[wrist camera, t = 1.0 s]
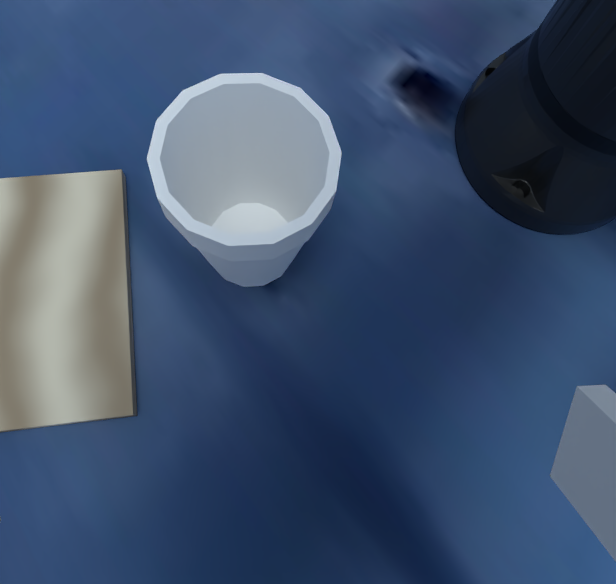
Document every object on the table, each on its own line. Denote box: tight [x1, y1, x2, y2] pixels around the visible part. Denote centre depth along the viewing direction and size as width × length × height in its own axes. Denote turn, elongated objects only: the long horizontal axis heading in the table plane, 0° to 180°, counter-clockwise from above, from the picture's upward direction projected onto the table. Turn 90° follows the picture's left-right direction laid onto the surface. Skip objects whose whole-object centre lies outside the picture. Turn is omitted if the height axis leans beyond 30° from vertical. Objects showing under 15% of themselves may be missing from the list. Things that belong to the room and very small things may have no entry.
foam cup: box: [147, 73, 342, 287], centre depth 33 cm, size 10×9×13 cm
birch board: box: [0, 170, 137, 432], centre depth 37 cm, size 14×17×1 cm
